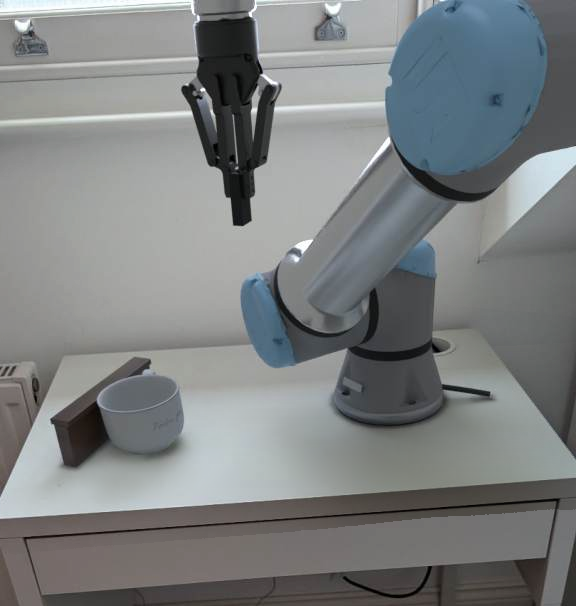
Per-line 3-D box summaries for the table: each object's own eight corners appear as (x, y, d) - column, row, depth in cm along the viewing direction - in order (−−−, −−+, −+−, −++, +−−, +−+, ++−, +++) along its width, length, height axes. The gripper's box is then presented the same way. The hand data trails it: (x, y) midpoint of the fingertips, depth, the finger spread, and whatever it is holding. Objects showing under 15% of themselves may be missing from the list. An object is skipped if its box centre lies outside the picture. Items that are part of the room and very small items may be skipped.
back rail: (157, 401, 120) (150, 358, 116) (78, 468, 105) (67, 421, 101) (141, 398, 121) (134, 356, 117) (61, 464, 106) (49, 418, 102)
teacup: (171, 466, 104) (162, 411, 100) (94, 461, 106) (82, 406, 102) (204, 416, 115) (197, 364, 111) (133, 412, 118) (123, 361, 113)
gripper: (160, 21, 94) (186, 228, 107) (261, 17, 89) (275, 234, 103) (191, 16, 100) (212, 213, 113) (288, 11, 95) (298, 218, 108)
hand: (242, 223), depth 108 cm, fingers closed
